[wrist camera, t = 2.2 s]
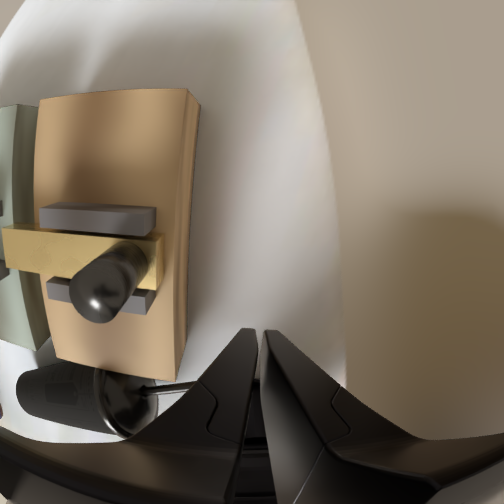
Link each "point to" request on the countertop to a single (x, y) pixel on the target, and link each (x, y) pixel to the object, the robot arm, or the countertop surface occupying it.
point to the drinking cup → (92, 397)
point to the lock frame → (101, 218)
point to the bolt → (88, 264)
